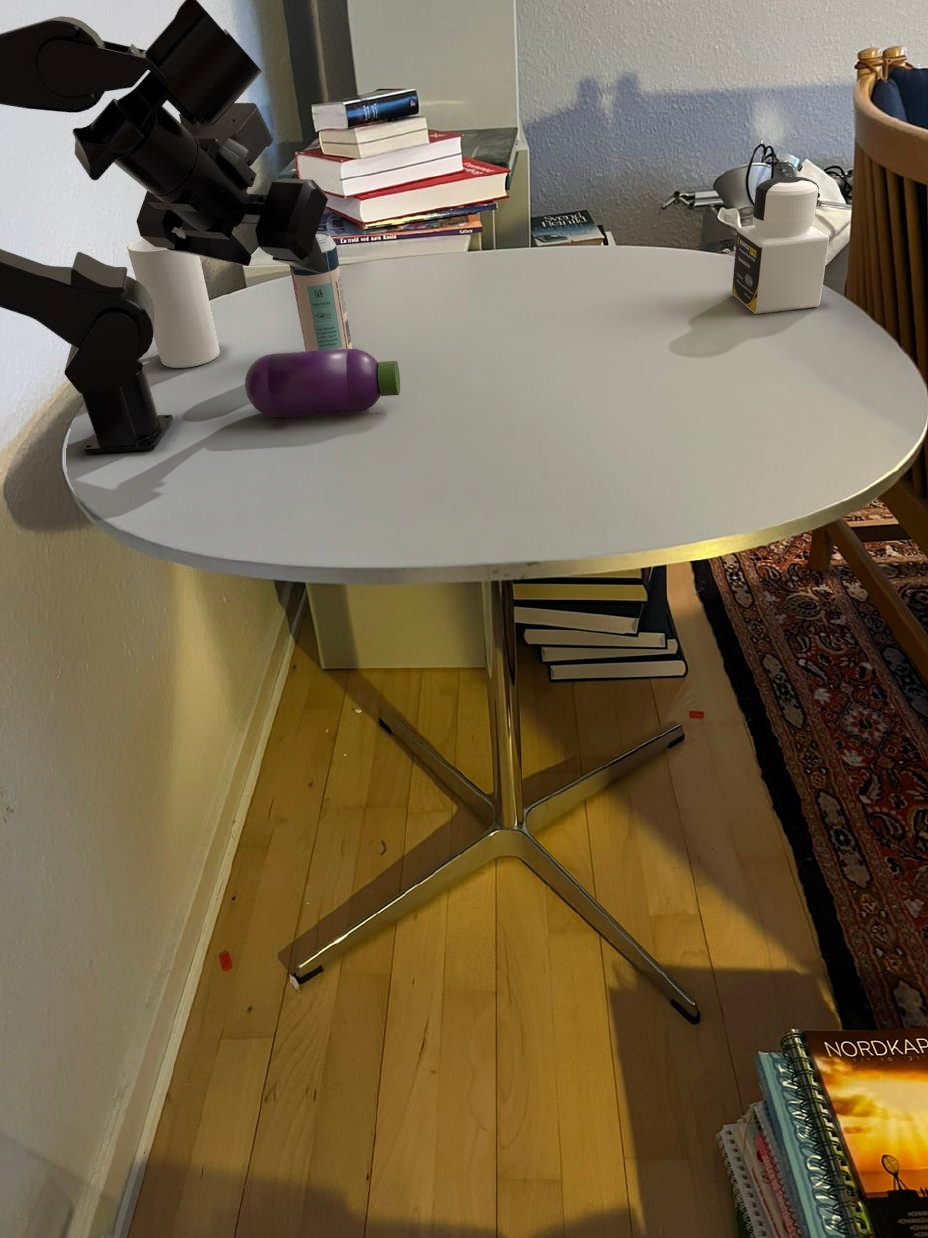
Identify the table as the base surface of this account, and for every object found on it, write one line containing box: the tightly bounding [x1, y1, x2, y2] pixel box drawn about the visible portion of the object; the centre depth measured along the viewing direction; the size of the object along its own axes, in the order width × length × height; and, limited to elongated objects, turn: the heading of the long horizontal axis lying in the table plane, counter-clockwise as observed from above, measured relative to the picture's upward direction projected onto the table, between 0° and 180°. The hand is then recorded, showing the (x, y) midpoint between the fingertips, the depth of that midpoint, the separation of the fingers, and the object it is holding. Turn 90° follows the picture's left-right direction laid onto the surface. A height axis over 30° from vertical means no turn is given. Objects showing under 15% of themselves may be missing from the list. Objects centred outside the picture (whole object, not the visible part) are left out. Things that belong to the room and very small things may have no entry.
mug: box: [126, 237, 221, 369], centre depth 100 cm, size 10×7×12 cm, turn 5°
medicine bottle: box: [731, 176, 830, 315], centre depth 98 cm, size 7×7×12 cm
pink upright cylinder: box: [289, 231, 353, 352], centre depth 95 cm, size 5×5×12 cm
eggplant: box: [244, 348, 401, 418], centre depth 85 cm, size 6×14×6 cm, turn 88°
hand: (285, 264), depth 90 cm, fingers open, 9 cm apart
